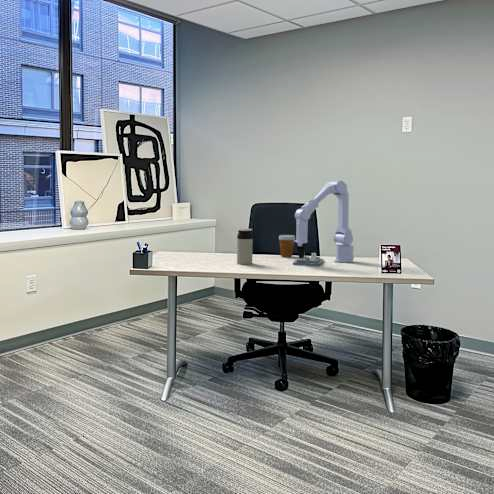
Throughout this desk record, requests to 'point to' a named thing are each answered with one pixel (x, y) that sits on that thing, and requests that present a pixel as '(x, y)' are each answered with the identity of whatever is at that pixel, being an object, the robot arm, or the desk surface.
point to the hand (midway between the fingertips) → (301, 258)
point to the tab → (313, 257)
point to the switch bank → (308, 261)
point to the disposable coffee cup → (286, 245)
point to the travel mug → (244, 246)
